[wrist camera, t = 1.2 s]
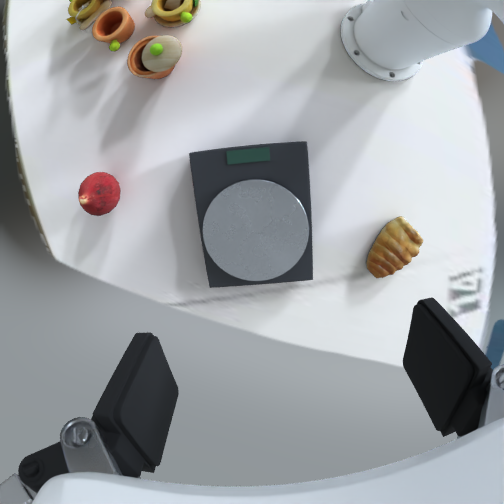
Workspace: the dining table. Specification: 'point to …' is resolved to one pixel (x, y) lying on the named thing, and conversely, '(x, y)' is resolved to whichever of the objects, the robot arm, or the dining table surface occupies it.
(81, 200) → the onion
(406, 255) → the pastry
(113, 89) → the dining table surface
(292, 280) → the scale
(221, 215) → the scale pan
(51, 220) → the dining table surface
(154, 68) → the toy tea set
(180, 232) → the dining table surface
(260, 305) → the dining table surface
